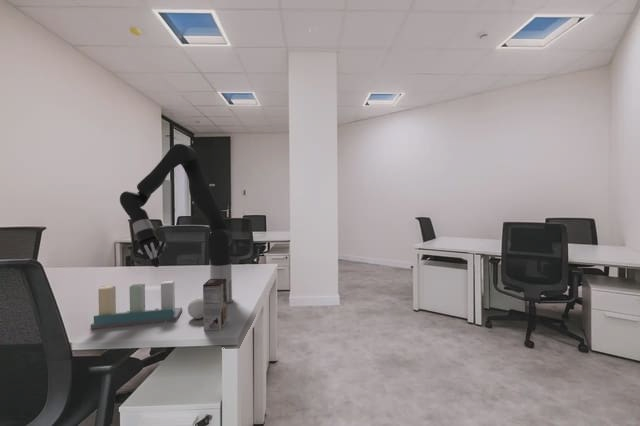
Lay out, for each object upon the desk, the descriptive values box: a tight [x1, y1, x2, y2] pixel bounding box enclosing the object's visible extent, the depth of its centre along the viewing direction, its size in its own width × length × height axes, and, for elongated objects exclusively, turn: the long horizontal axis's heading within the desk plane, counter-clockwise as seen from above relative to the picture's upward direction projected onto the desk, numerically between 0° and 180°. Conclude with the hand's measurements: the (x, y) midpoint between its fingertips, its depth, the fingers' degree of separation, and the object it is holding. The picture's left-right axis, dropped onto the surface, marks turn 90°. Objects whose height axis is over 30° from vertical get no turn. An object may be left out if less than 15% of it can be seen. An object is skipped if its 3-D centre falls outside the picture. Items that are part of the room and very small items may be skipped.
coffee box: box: [202, 278, 228, 332], centre depth 110 cm, size 9×6×16 cm
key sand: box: [98, 285, 117, 315], centre depth 113 cm, size 4×4×12 cm
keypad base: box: [90, 307, 183, 330], centre depth 118 cm, size 28×12×4 cm, turn 104°
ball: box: [187, 296, 204, 320], centre depth 118 cm, size 8×8×8 cm
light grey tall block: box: [160, 280, 176, 312], centre depth 120 cm, size 4×4×12 cm
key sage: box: [128, 283, 146, 313], centre depth 115 cm, size 4×4×12 cm
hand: (157, 266), depth 134 cm, fingers closed
